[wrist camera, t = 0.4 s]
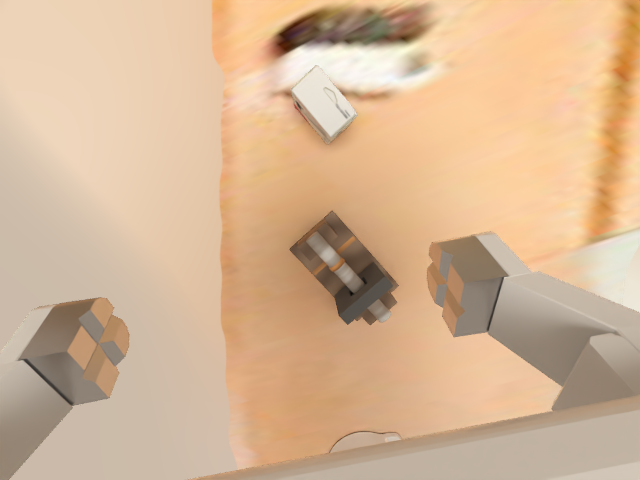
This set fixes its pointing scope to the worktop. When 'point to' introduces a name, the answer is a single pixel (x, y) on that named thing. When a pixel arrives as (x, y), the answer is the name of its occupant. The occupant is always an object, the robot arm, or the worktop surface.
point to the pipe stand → (341, 263)
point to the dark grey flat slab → (362, 293)
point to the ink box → (322, 104)
